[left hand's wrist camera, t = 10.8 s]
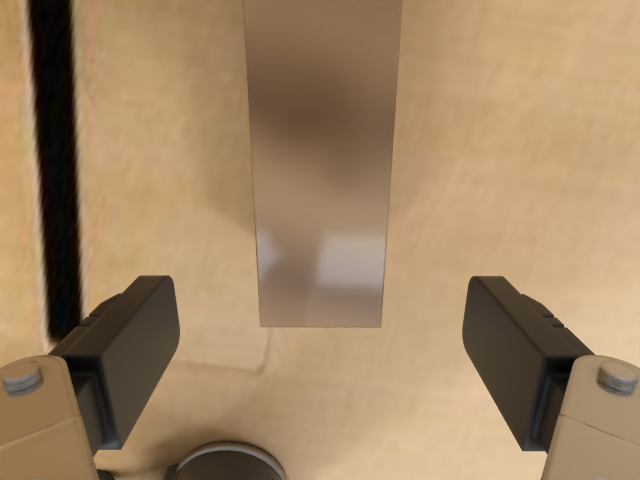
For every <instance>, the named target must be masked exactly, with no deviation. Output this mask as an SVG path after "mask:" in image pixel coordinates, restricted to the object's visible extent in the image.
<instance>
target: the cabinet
mask: <svg viewBox="0 0 640 480" xmlns="http://www.w3.org/2000/svg"><path fill="white" fill-rule="evenodd" d="M243 3H244V23H245V42H246V61H247V81H248V100H249V119H250V138H251V158H252V177H253V196H254V216H255V235H256V254H257V274H258V293H259V312H260V326H261V327H360V328H380V327H381V319H382V304H383V288H384V273H385V258H386V243H387V228H388V212H389V197H390V182H391V167H392V152H393V136H394V121H395V106H396V91H397V76H398V60H399V45H400V30H401V15H402V0H243Z"/></svg>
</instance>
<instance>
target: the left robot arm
mask: <svg viewBox="0 0 640 480" xmlns="http://www.w3.org/2000/svg"><path fill="white" fill-rule="evenodd" d="M462 336H463V343H464V347H465V350H466V352H467V354H468V355H469V357H470V359H471V361H472V363H473V364H474V366H475V368H476V370H477V371H478V373H479V375H480V377H481V379H482V380H483V382H484V384H485V386H486V387H487V389H488V391H489V393H490V394H491V396H492V398H493V400H494V402H495V403H496V405H497V407H498V409H499V410H500V412H501V414H502V416H503V418H504V419H505V421H506V423H507V425H508V426H509V428H510V430H511V432H512V434H513V435H514V437H515V439H516V441H517V442H518V444H519V446H520V448H521V449H522V451H546V453H547V459H546V463H545V466H544V470H543V474H542V477H541V480H640V368H638V367H637V366H635V365H632V364H630V363H628V362H625V361H622V360H619V359H616V358H612V357H607V356H601V355H595V354H594V353H593V352H592V351H591V350H590V349H589V348H588V347H587V346H585V345H584V344H583V343H582V342H581V341H580V340H579V339H578V338H577V337H576V336H575V335H574V334H573V333H572V332H571V331H570V330H569V329H568V328H564V325H563V324H562V323H561V322H560V321H559V320H558V319H557V318H554V315H553V314H552V313H551V312H550V311H549V310H548V309H547V308H546V307H545V306H544V305H543V304H541V303H539V302H537V301H536V300H534V299H532V298H530V297H528V296H526V295H524V294H520V293H519V292H518V291H517V290H516V289H515V288H514V287H513V286H512V285H511V284H510V283H509V282H508V281H507V280H506V279H505V278H504V277H502V276H473V277H472V278H471V279H470V281H469V285H468V292H467V299H466V306H465V313H464V321H463V328H462ZM179 337H180V326H179V319H178V311H177V304H176V297H175V290H174V283H173V280H172V278H171V277H170V276H139V277H138V278H137V279H136V280H135V281H134V282H133V283H132V284H131V285H130V286H129V287H128V288H127V289H126V290H125V291H124V292H123V293H122V294H117V295H115V296H113V297H111V298H110V299H108V300H106V301H104V302H102V303H101V304H99V305H98V306H97V307H96V308H95V309H94V310H93V311H92V312H91V313H90V314H89V317H86V318H85V319H84V320H83V321H82V322H81V323H80V324H79V327H76V328H75V329H74V330H72V331H71V332H70V333H69V334H68V335H67V336H66V337H65V338H64V339H63V340H62V341H61V342H60V343H59V344H58V345H57V346H56V347H55V348H54V349H53V350H52V351H51V352H50V353H49V354H48V355H39V356H33V357H28V358H24V359H21V360H18V361H15V362H12V363H10V364H8V365H5V366H3V367H2V368H0V480H115V479H114V478H113V477H112V476H111V475H110V474H109V473H108V472H105V471H102V470H96V466H95V463H94V459H93V457H94V456H95V454H96V452H97V451H98V450H121V448H122V447H123V445H124V443H125V441H126V439H127V438H128V436H129V434H130V432H131V431H132V429H133V427H134V425H135V423H136V422H137V420H138V418H139V416H140V414H141V413H142V411H143V409H144V407H145V405H146V404H147V402H148V400H149V398H150V396H151V395H152V393H153V391H154V389H155V387H156V386H157V384H158V382H159V380H160V378H161V377H162V375H163V373H164V371H165V369H166V368H167V366H168V364H169V362H170V360H171V359H172V357H173V355H174V353H175V351H176V349H177V347H178V343H179ZM163 480H287V479H286V475H285V473H284V471H283V469H282V468H281V466H280V465H279V464H278V463H277V461H276V460H275V459H273V458H272V457H271V456H270V455H268V454H267V453H265V452H264V451H262V450H260V449H258V448H255V447H253V446H250V445H246V444H242V443H235V442H219V443H212V444H208V445H205V446H202V447H200V448H197V449H195V450H194V451H192V452H191V453H189V454H188V455H187V456H186V457H185V458H184V459H183V460H182V461H181V462H180V464H178V465H174V466H169V467H168V468H167V471H166V473H165V476H164V478H163Z"/></svg>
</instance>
